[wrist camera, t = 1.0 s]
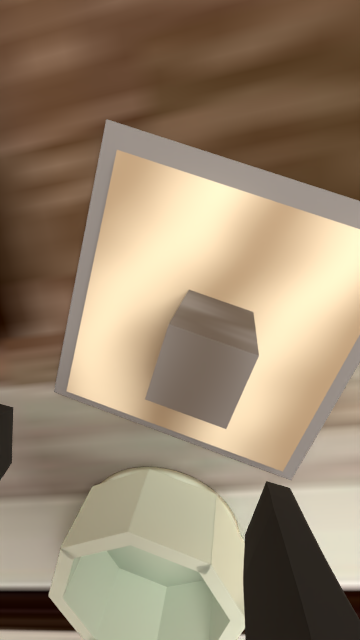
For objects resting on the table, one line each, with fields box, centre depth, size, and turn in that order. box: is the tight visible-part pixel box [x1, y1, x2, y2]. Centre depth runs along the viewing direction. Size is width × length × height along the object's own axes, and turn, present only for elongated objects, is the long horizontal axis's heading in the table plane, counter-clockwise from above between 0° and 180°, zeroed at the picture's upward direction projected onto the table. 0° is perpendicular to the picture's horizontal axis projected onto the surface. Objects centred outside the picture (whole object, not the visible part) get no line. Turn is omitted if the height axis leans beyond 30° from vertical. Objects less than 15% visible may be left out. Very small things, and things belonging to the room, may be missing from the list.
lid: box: [67, 150, 360, 472], centre depth 14 cm, size 12×12×5 cm
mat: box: [54, 119, 360, 480], centre depth 16 cm, size 14×14×1 cm
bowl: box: [48, 467, 245, 640], centre depth 20 cm, size 10×10×5 cm
